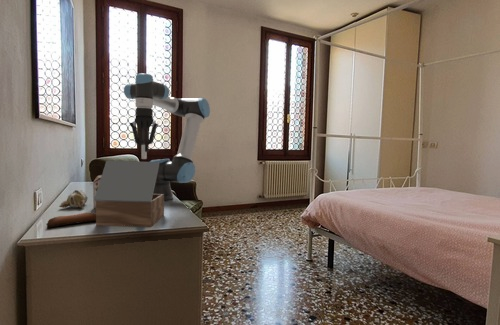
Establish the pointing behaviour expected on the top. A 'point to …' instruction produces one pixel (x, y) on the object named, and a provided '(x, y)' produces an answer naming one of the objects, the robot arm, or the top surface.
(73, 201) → the ceramic sculpture
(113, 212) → the walnut box
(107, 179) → the lid
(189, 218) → the top surface
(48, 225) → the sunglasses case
